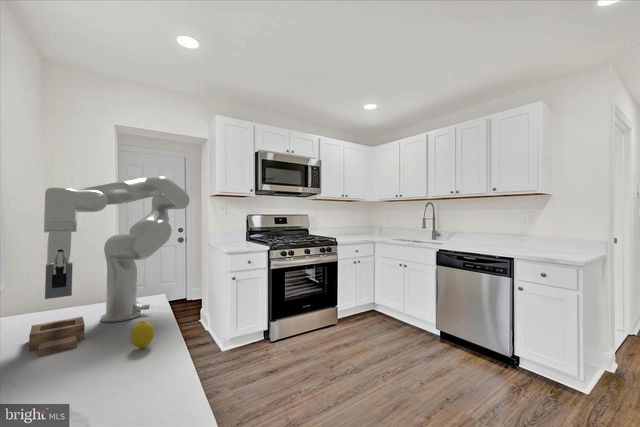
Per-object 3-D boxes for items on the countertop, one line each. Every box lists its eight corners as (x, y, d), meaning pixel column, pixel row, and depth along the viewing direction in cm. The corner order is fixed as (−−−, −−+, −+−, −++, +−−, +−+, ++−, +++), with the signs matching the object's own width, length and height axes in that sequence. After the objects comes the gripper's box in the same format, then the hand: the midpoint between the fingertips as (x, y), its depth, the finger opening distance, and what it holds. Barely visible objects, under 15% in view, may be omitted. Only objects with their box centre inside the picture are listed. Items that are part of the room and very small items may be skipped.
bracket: (71, 293, 91) (72, 262, 91) (71, 295, 88) (72, 263, 88) (45, 296, 87) (46, 264, 87) (44, 299, 84) (45, 265, 84)
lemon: (142, 354, 78) (143, 325, 78) (125, 352, 79) (126, 323, 79) (157, 345, 83) (158, 318, 84) (142, 343, 84) (142, 316, 85)
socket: (81, 325, 99) (81, 312, 99) (85, 345, 83) (86, 330, 83) (32, 334, 91) (33, 320, 91) (27, 358, 75) (27, 342, 75)
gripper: (44, 227, 91) (43, 283, 91) (43, 228, 79) (41, 293, 79) (75, 226, 97) (73, 280, 96) (78, 227, 85) (76, 289, 84)
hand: (59, 285), depth 87 cm, fingers closed on bracket, 3 cm apart
